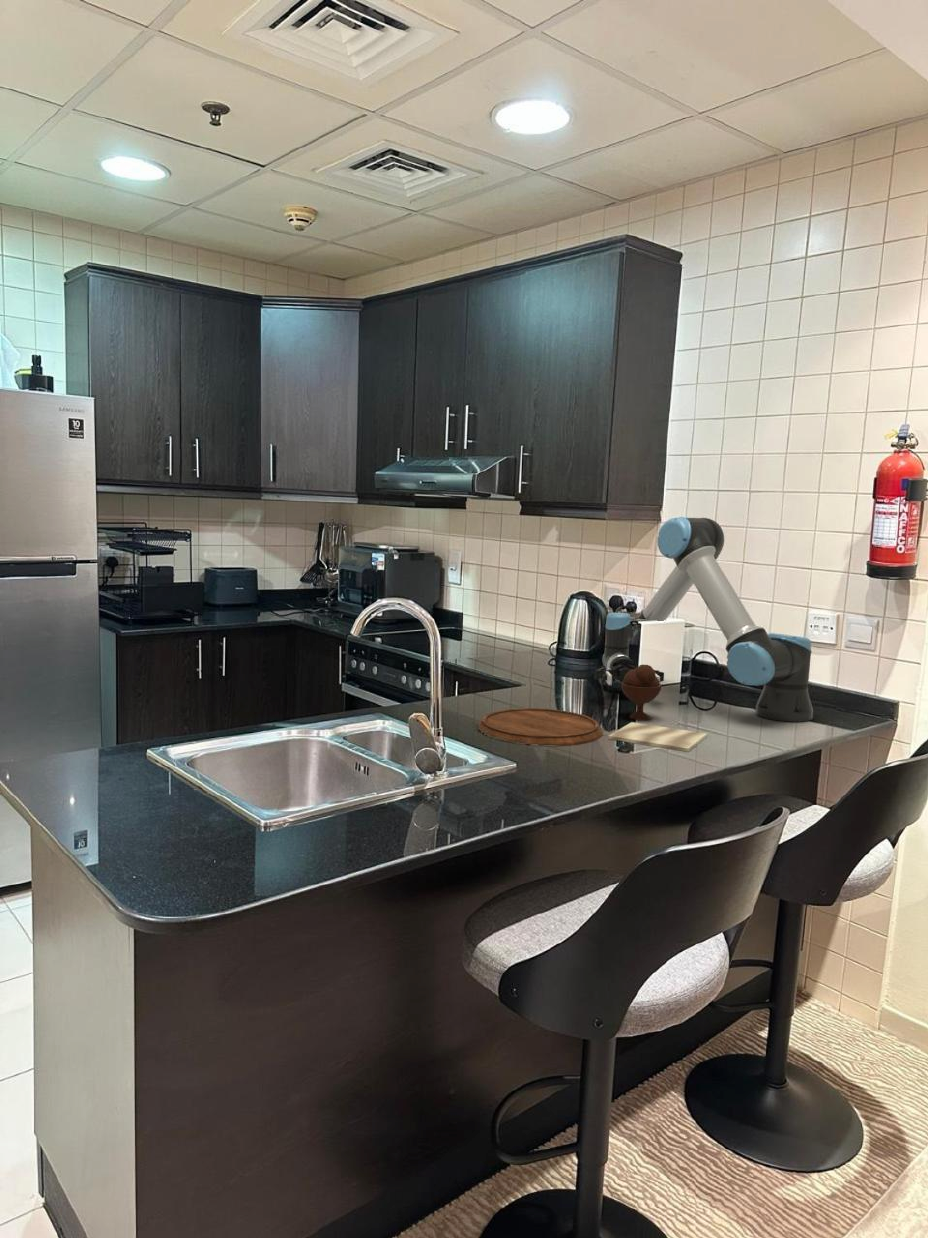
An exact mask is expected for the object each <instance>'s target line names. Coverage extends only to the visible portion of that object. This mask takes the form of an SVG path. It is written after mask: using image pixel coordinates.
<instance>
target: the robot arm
mask: <svg viewBox="0 0 928 1238" xmlns="http://www.w3.org/2000/svg"><path fill="white" fill-rule="evenodd" d="M656 541H657V542H656V543H657V547H658V550H659V552H660V553H661V555H662V556H664V557H665V558H668V559H669V560H670V559H671V560H673V561H674V563H675V564H676V565H675V567H674V568H673V570H672V571H671V572H670V574H669V575H668V577H666V579H665V581H663V583H662V585H661V586H660V588H659V589H658V590H657V591H656V593H655V594H654V596H653V597H652V598H651V600H650V601H649V602H648V603H647V605H646V607H644V609H643V611H642V612H641V613H640V614H639V616H638V617H631V615H630V614H629V613H627V612H609V613H607V616H606V620H605V641H604V653H603V655H602V664H603V665H602V667H600V668H598V669H595V670H594V680H600V682H601V683H607V685H608V686H612V682H613V679H615V680H616V681H618V682H620V683H621V682H623V680H624V676H625V675H626V673H628V672H629V671H630V670H632V669H636V668H638V667H639V666H636V665H635V663H634V661H633V660H632V659H631V658H630V657H629V652H630V651H629V649H630V642H629V641H630V640H631V639H632V637H633V629H632V626H631V623H630V622H631V619H647V620H657V621H664V620H665V621H666V620H667V618H669V616H670V615H671V614H672V612H673V611H674V609H676V607H677V606H678V604H679V603H680V602H681V600H683V598H684V597H685V596H686V594H687V593H688V592H689V590H690V589H691V588H692V586H693V585H694V586H695V588H696V590H697V591H698V593H699V595H700V597H701V598H702V600H703V602H704V603H705V605H706V607H707V608H708V610H709V612H710V614H711V615H712V617H713V619H714V621H715V622H716V624H717V626H718V627H719V629H720V630H721V633H722V634H723V636H724V638H725V639H726V645H725V648H724V649H725V651H726V652H727V655H726V659H727V661H726V667H727V670H728V672H729V674H730V675H731V677H732V678H734V679H735V680H736V681H737V682H738V683H740V684H742V685H746V686H763V689H762V691H761V693H760V695H759V697H758V700H757V702H756V705H755V714H756V715H757V716H759V717H762V718H765V719H769V720H774V721H781V722H796V723H799V722H801V723H802V722H808V721H811V720H813V715H814V709H813V705H812V702H811V701H812V700H811V698H810V694H809V681H810V680H809V679H810V669H811V667H810V666H811V656H812V642H811V639H809V638H807V637H802V636H797V635H789V634H782V633H775V632H774V633H773V632H770V633H768V632H767V631H766V629H765V628H764V627H762V626H759V625H758V626H757V625H756V624H755V622H754V620H753V619H752V617H751V615H750V614H749V612H748V611H747V609H746V608H745V606H744V604H743V603H742V600H741V598H740V597H739V596H738V594H737V592H736V591H735V589H734V588H733V585H732V584H731V582H730V580H729V579H728V578H727V576H726V574H725V573H724V570H722V567H721V566H720V565H719V563H718V561H717V559H718V558H719V556H720V554H721V553H722V551H723V549H724V546H725V533H724V530H723V529H722V527H721V525H720V524H719V523H718V522H717V521H715V520H713V519H711V518H708V517H684V516H679V517H672V518H669V519H668V520H666V521H665V522H664V523H663V524H662V526H661V527H660V528H659V531H658V536H657V540H656ZM665 621H664V622H665ZM654 671H655V675H656V677H657V678H658V679H659V682H660V683H661V682H664V681H665V672H663V671H659V670H657V669H654Z"/></svg>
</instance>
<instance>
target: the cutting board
mask: <svg viewBox="0 0 928 1238" xmlns="http://www.w3.org/2000/svg"><path fill="white" fill-rule="evenodd" d="M478 727H479V729H481V730H482V731H483V732H484V733H486V734H489V735H491V736H493V737H500V738H503V739H506V740H509V741H514V742H519V743H529V744H538V745H557V746H556V747H570V746H579V745H585V744H589V743H593V742H595V741H597V740H599V739H601V738H602V737H603V734H604V731H603V729H602V727H601V725H600V724H599V722H598V721H597V720H596V719H595V718H592V717H590V716H588V715H585V714H582V713H578V712H573V711H568V710H562V709H561V710H560V709H553V708H541V707H540V708H537V707H536V708H535V707H533V708H532V707H530V708H529V707H528V708H527V707H523V708H522V707H520V708H518V707H517V708H508V709H501V710H495V711H491V712H489V713H487V714H485V715H484V716H483V717H482V718H481V719H480V721H479V722H478V723H477V728H478ZM558 745H559V746H558ZM560 745H561V746H560Z"/></svg>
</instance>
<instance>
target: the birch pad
mask: <svg viewBox="0 0 928 1238" xmlns="http://www.w3.org/2000/svg"><path fill="white" fill-rule="evenodd" d="M706 738H708V733H706V732H700V731H692V730H687V729H686V730H685V729H680V728H673V727H665V726H659V725H653V724H646V723H641V722H633V721H631V722H629V723H628V724H626V725H624V726H623V727H620V729H617V730H616V731H614V732H612V733H611V734H608V736H607V739H608V740H612V741H613V740H614V741H619V742H626V743H632V744H639V745H645V746H650V747H656V748H657V747H658V748H663V749H669V750H676V751H682V752H690V751H691V750H692V749H694V748H695V747H697V745H699V744H700V743H702V741H704V740H706Z"/></svg>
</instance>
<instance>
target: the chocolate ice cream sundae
mask: <svg viewBox="0 0 928 1238" xmlns="http://www.w3.org/2000/svg"><path fill="white" fill-rule="evenodd" d="M637 667H638V668H636V669H632V670H630V671H629V672H628V673H626V675H625V676H624V680H623V682H621V681H620V687H621V690H622V692H623V695H624V696H626V698H628V699H629V700H630V701H632V702H634V703H635V704H636V711H635V712H632V713H631V714H630V715H629V719H632V720H637V721H647V720H650V719H651V717H650V716H649V715H648V714H647V713H645V712H644V706H645V705H646V704H647V703H650V702H651V701H653V700H654V699H655V698H656V697H657V696H659V694H660V692H661V690H662V688H663V685H662V684H661V682H659V679H658V678H657V677H656V675H655V671H654V670H655V669H654V668H653V667H652V666H651V665H650V664H640V665H638V666H637Z"/></svg>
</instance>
